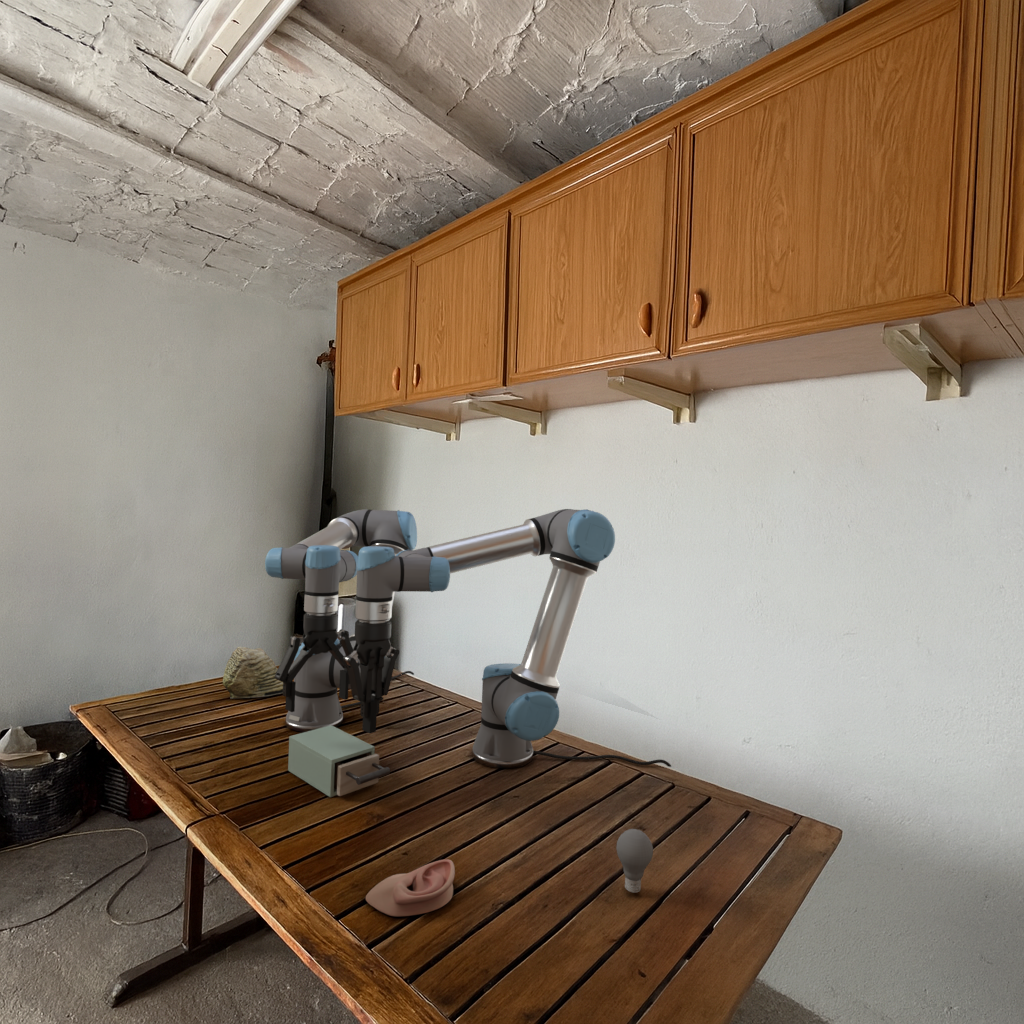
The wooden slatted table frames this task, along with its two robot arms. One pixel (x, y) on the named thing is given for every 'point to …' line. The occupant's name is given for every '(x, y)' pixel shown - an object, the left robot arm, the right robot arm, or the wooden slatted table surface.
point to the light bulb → (634, 857)
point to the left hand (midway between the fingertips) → (317, 704)
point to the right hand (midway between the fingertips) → (369, 730)
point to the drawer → (357, 773)
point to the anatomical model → (414, 890)
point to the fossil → (251, 674)
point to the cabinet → (323, 755)
